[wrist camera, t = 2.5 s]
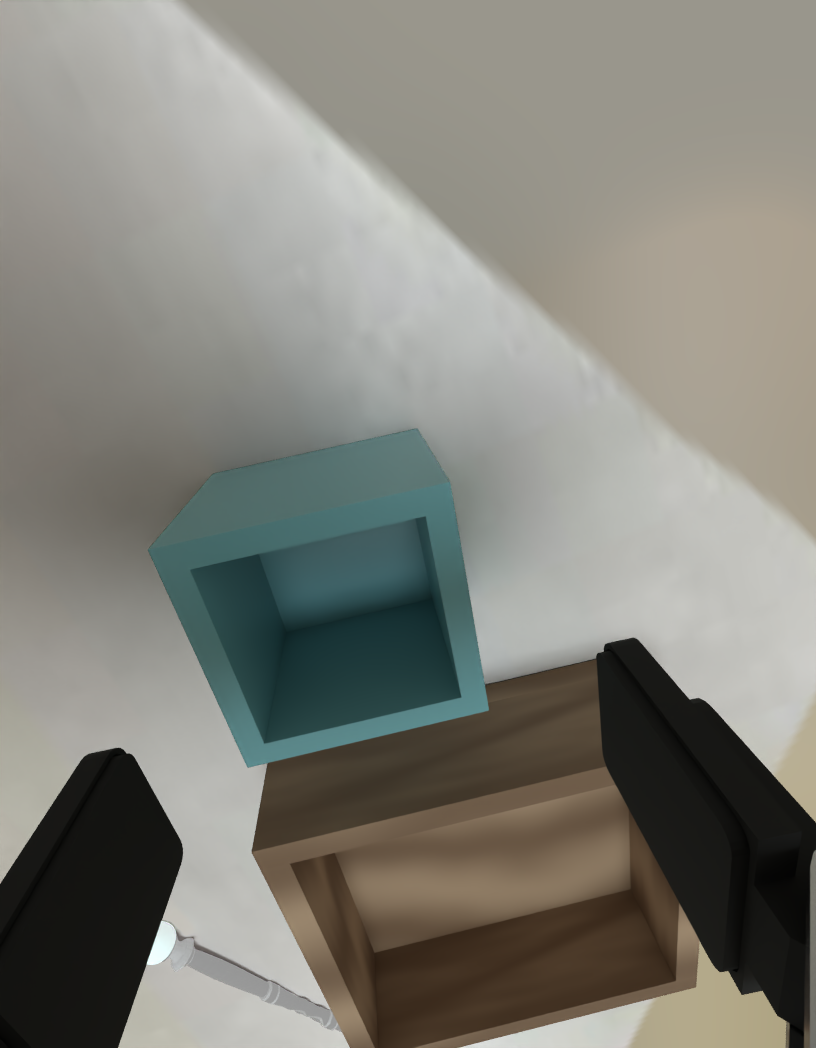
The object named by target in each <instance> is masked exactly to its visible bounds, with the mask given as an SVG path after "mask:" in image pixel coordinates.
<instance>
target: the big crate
mask: <svg viewBox="0 0 816 1048" xmlns="http://www.w3.org/2000/svg"><path fill="white" fill-rule="evenodd" d="M485 689H486V695H487V701H488V707H489V711H485V712H481V713H476V714H472V715H468V716H464V717H460V718H455V719H451V720H447V721H443V722H438V723H434V724H430V725H426V726H422V727H417V728H413V729H409V730H405V731H400V732H396V733H392V734H388V735H383V736H379V737H375V738H371V739H367V740H362V741H358V742H354V743H350V744H345V745H341V746H337V747H333V748H329V749H324V750H320V751H316V752H312V753H307V754H303V755H299V756H295V757H291V758H286V759H282V760H278V761H274V762H269V763H268V764H267V769H266V775H265V781H264V786H263V792H262V797H261V803H260V808H259V814H258V820H257V825H256V831H255V836H254V842H253V847H252V854H253V856H254V858H255V860H256V862H257V864H258V866H259V868H260V870H261V872H262V874H263V876H264V878H265V880H266V882H267V884H268V886H269V888H270V890H271V892H272V894H273V896H274V898H275V900H276V902H277V904H278V906H279V908H280V909H281V911H282V913H283V915H284V917H285V919H286V921H287V923H288V925H289V927H290V929H291V931H292V933H293V935H294V937H295V939H296V941H297V943H298V945H299V947H300V949H301V951H302V953H303V955H304V957H305V959H306V961H307V963H308V965H309V967H310V969H311V971H312V973H313V975H314V977H315V979H316V981H317V983H318V985H319V987H320V989H321V991H322V993H323V995H324V997H325V999H326V1001H327V1003H328V1005H329V1007H330V1009H331V1011H332V1013H333V1015H334V1017H335V1019H336V1021H337V1023H338V1025H339V1027H340V1029H341V1031H342V1033H343V1035H344V1037H345V1039H346V1041H347V1043H348V1045H349V1047H350V1048H459V1047H463V1046H467V1045H471V1044H475V1043H478V1042H482V1041H486V1040H490V1039H494V1038H498V1037H502V1036H506V1035H510V1034H514V1033H518V1032H522V1031H526V1030H530V1029H534V1028H537V1027H541V1026H545V1025H549V1024H553V1023H557V1022H561V1021H565V1020H569V1019H573V1018H577V1017H581V1016H585V1015H589V1014H593V1013H597V1012H600V1011H604V1010H608V1009H612V1008H616V1007H620V1006H624V1005H628V1004H632V1003H636V1002H640V1001H644V1000H648V999H652V998H656V997H659V996H663V995H667V994H671V993H675V992H679V991H683V990H687V989H691V988H695V987H696V980H697V965H698V953H699V939H698V937H697V935H696V933H695V931H694V929H693V927H692V926H691V924H690V922H689V920H688V918H687V916H686V914H685V913H684V911H683V909H682V907H681V905H680V903H679V901H678V900H677V898H676V896H675V894H674V892H673V890H672V888H671V887H670V885H669V883H668V881H667V879H666V877H665V875H664V874H663V872H662V870H661V868H660V866H659V864H658V863H657V861H656V859H655V857H654V855H653V853H652V851H651V850H650V848H649V846H648V844H647V842H646V840H645V838H644V837H643V835H642V833H641V831H640V829H639V827H638V825H637V824H636V822H635V820H634V818H633V816H632V814H631V812H630V811H629V809H628V807H627V805H626V803H625V801H624V799H623V798H622V796H621V794H620V792H619V790H618V788H617V787H616V785H615V783H614V781H613V779H612V777H611V775H610V774H609V771H608V769H607V767H606V764H605V761H604V758H603V753H602V739H601V723H600V708H599V692H598V676H597V661H596V659H595V660H591V661H587V662H583V663H578V664H574V665H570V666H566V667H561V668H557V669H553V670H549V671H544V672H540V673H536V674H532V675H527V676H523V677H519V678H515V679H510V680H506V681H502V682H498V683H494V684H489V685H485Z"/></svg>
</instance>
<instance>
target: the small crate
mask: <svg viewBox="0 0 816 1048" xmlns="http://www.w3.org/2000/svg"><path fill="white" fill-rule="evenodd" d="M148 552H149V554H150V556H151V558H152V560H153V562H154V565H155V567H156V569H157V571H158V573H159V575H160V578H161V580H162V582H163V584H164V586H165V589H166V591H167V593H168V595H169V597H170V599H171V602H172V604H173V606H174V608H175V610H176V613H177V615H178V617H179V619H180V621H181V623H182V626H183V628H184V630H185V632H186V634H187V637H188V639H189V641H190V643H191V645H192V647H193V650H194V652H195V654H196V656H197V658H198V661H199V663H200V665H201V667H202V669H203V671H204V674H205V676H206V678H207V680H208V682H209V685H210V687H211V689H212V691H213V693H214V695H215V698H216V700H217V702H218V704H219V706H220V709H221V711H222V713H223V715H224V717H225V719H226V722H227V724H228V726H229V728H230V730H231V733H232V735H233V737H234V739H235V741H236V743H237V746H238V748H239V750H240V752H241V754H242V756H243V759H244V761H245V763H246V765H247V767H253V766H257V765H261V764H265V763H269V762H274V761H278V760H282V759H286V758H291V757H295V756H299V755H303V754H307V753H312V752H316V751H320V750H324V749H329V748H333V747H337V746H341V745H345V744H350V743H354V742H358V741H362V740H367V739H371V738H375V737H379V736H383V735H388V734H392V733H396V732H400V731H405V730H409V729H413V728H417V727H422V726H426V725H430V724H434V723H438V722H443V721H447V720H451V719H455V718H460V717H464V716H468V715H472V714H476V713H481V712H485V711H489V707H488V701H487V695H486V689H485V683H484V677H483V672H482V666H481V660H480V654H479V648H478V642H477V637H476V631H475V625H474V619H473V613H472V607H471V602H470V596H469V590H468V584H467V578H466V572H465V567H464V561H463V555H462V549H461V543H460V537H459V532H458V526H457V520H456V514H455V508H454V502H453V496H452V491H451V485H450V481H449V479H448V478H447V476H446V475H445V473H444V471H443V470H442V468H441V466H440V465H439V463H438V461H437V460H436V458H435V457H434V455H433V453H432V452H431V450H430V448H429V447H428V445H427V443H426V442H425V440H424V439H423V437H422V435H421V434H420V432H419V430H418V429H412V430H408V431H403V432H399V433H394V434H390V435H385V436H381V437H376V438H372V439H367V440H363V441H358V442H354V443H349V444H345V445H340V446H336V447H331V448H327V449H322V450H318V451H313V452H309V453H304V454H300V455H295V456H291V457H286V458H282V459H277V460H273V461H268V462H263V463H259V464H254V465H250V466H245V467H241V468H236V469H232V470H227V471H223V472H218V473H214V474H212V475H211V477H210V478H209V479H208V480H207V481H206V482H205V484H204V485H203V486H202V487H201V488H200V489H199V491H198V492H197V493H196V494H195V495H194V496H193V498H192V499H191V500H190V501H189V502H188V503H187V505H186V506H185V507H184V508H183V509H182V510H181V512H180V513H179V514H178V515H177V516H176V517H175V519H174V520H173V521H172V522H171V523H170V524H169V526H168V527H167V528H166V529H165V530H164V531H163V533H162V534H161V535H160V536H159V537H158V538H157V540H156V541H155V542H154V543H153V544H152V545H151V547H150V548H149V549H148Z"/></svg>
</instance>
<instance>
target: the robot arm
mask: <svg viewBox="0 0 816 1048" xmlns="http://www.w3.org/2000/svg"><path fill="white" fill-rule="evenodd" d="M596 661H597V676H598V692H599V708H600V723H601V739H602V753H603V758H604V761H605V764H606V767H607V769H608V771H609V774H610V775H611V777H612V779H613V781H614V783H615V785H616V787H617V788H618V790H619V792H620V794H621V796H622V798H623V799H624V801H625V803H626V805H627V807H628V809H629V811H630V812H631V814H632V816H633V818H634V820H635V822H636V824H637V825H638V827H639V829H640V831H641V833H642V835H643V837H644V838H645V840H646V842H647V844H648V846H649V848H650V850H651V851H652V853H653V855H654V857H655V859H656V861H657V863H658V864H659V866H660V868H661V870H662V872H663V874H664V875H665V877H666V879H667V881H668V883H669V885H670V887H671V888H672V890H673V892H674V894H675V896H676V898H677V900H678V901H679V903H680V905H681V907H682V909H683V911H684V913H685V914H686V916H687V918H688V920H689V922H690V924H691V926H692V927H693V929H694V931H695V933H696V935H697V937H698V939H699V940H700V942H701V944H702V946H703V948H704V950H705V951H706V953H707V955H708V957H709V959H710V960H711V962H712V964H713V965H714V966H715V968H716V969H717V970H718V971H719V972H724V971H729V973H730V975H731V977H732V978H733V980H734V982H735V983H736V986H737V987H738V989H739V991H740V992H741V994H742V995H744V994H749V993H753V992H758V991H763V992H764V994H765V996H766V997H767V999H768V1000H769V1002H770V1004H771V1006H772V1007H773V1009H774V1010H775V1012H776V1014H777V1016H779V1017H781V1018H782V1019H784V1020H785V1021H787V1022H786V1023H787V1024H786V1048H816V823H815V821H814V820H813V819H812V818H811V817H810V816H809V815H808V813H806V811H805V810H804V809H803V808H802V807H801V806H800V805H799V803H798V802H797V801H796V800H795V799H794V798H793V797H792V796H791V795H790V793H789V792H788V791H787V790H786V789H785V788H784V787H783V786H782V785H781V784H780V782H778V780H777V779H776V778H775V777H774V776H773V775H772V773H771V772H770V771H769V770H768V769H767V768H766V767H765V766H764V765H763V763H762V762H761V761H760V760H759V759H758V758H757V757H756V756H755V755H754V753H753V752H752V751H751V750H750V749H749V748H748V747H747V746H746V745H745V743H744V742H743V741H742V740H741V739H740V738H739V737H738V736H737V735H736V733H735V732H734V731H733V730H732V729H731V728H730V727H729V726H728V725H727V723H726V722H725V721H724V720H723V719H722V718H721V717H720V716H719V715H718V713H717V712H716V711H715V710H714V709H713V708H712V707H711V706H710V705H709V704H708V703H707V702H706V701H704V700H702V699H700V698H696V699H691V700H689V699H688V697H687V696H686V695H685V694H684V693H683V692H682V690H681V689H680V688H679V687H678V686H677V685H676V683H675V682H674V681H673V680H672V679H671V678H670V676H669V675H668V674H667V673H666V672H665V671H664V669H663V668H662V667H661V666H660V665H659V664H658V662H657V661H656V660H655V659H654V658H653V657H652V655H651V654H650V653H649V652H648V651H647V650H646V648H645V647H644V646H643V645H642V644H641V643H640V642H639V641H638V640H637V639H636V638H630V639H625V640H621V641H616V642H611V643H607V644H605V646H604V652H601V653H598V654H597V656H596ZM182 857H183V847H182V843H181V840H180V838H179V837H178V835H177V833H176V831H175V829H174V828H173V826H172V824H171V822H170V821H169V819H168V817H167V815H166V813H165V812H164V810H163V808H162V806H161V804H160V803H159V801H158V799H157V797H156V795H155V794H154V792H153V790H152V788H151V786H150V785H149V783H148V781H147V779H146V777H145V776H144V774H143V772H142V770H141V768H140V767H139V765H138V763H137V761H136V759H135V758H134V756H133V755H131V754H130V753H129V754H126V752H125V751H124V750H123V749H121V748H114V749H109V750H105V751H100V752H95V753H91V754H88V755H86V756H85V757H84V758H83V759H82V760H81V761H80V763H79V764H78V766H77V767H76V769H75V770H74V772H73V774H72V775H71V777H70V778H69V780H68V781H67V783H66V784H65V786H64V787H63V789H62V790H61V792H60V793H59V795H58V796H57V798H56V799H55V801H54V803H53V804H52V806H51V807H50V809H49V810H48V812H47V813H46V815H45V816H44V818H43V819H42V821H41V822H40V824H39V825H38V827H37V829H36V830H35V832H34V833H33V835H32V836H31V838H30V839H29V841H28V842H27V844H26V845H25V847H24V848H23V850H22V851H21V853H20V854H19V856H18V858H17V859H16V861H15V862H14V864H13V865H12V867H11V868H10V870H9V871H8V873H7V874H6V876H5V877H4V879H3V880H2V882H1V884H0V1048H118V1046H119V1043H120V1040H121V1037H122V1034H123V1031H124V1028H125V1026H126V1023H127V1020H128V1017H129V1014H130V1011H131V1008H132V1005H133V1002H134V999H135V996H136V994H137V991H138V988H139V985H140V982H141V979H142V976H143V973H144V970H145V967H146V964H147V962H148V959H149V956H150V953H151V950H152V947H153V944H154V941H155V938H156V935H157V933H158V930H159V927H160V924H161V921H162V918H163V915H164V912H165V909H166V906H167V903H168V901H169V898H170V895H171V892H172V889H173V886H174V883H175V880H176V877H177V874H178V871H179V869H180V866H181V862H182Z"/></svg>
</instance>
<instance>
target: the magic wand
mask: <svg viewBox="0 0 816 1048" xmlns="http://www.w3.org/2000/svg"><path fill="white" fill-rule="evenodd" d="M167 959H171V966H172V969H173V971H179V970H181V969H182V968H183V967H184V966H189V967H191V968H193V969H195V970H197V971H199V972H201V973H203V974H205V975H207V976H209V977H211V978H213V979H216V980H218V981H220V982H223V983H225V984H228V985H230V986H233V987H235V988H238V989H241V990H243V991H246V992H249V993H251V994H254V995H257V996H259V997H260V999H261V1000H263V1001H265V1002H267V1003H270V1004H274V1005H277V1006H282V1007H285V1008H287V1009H289V1010H295V1011H296V1012H297V1013H299V1014H303V1015H305V1016H307V1017H310V1018H312V1019H313V1020H315V1021H317V1022H319V1023H321V1025H322V1026H323V1027H325V1028H327V1029H330V1030H334V1029H336V1030H338V1031H341V1029H340V1027H339V1025H338V1023H337V1021H336V1019H335V1017H334V1015H333V1013H332V1011H331V1010H327V1009H325V1008H323V1007H320V1006H317V1005H315V1004H314V1003H312V1002H309V1001H307V1000H306V999H304V998H300V997H298V996H297V995H295V994H293V993H291V992H289V991H287V990H285V989H284V988H282V987H281V986H279V985H277V984H275V983H273V982H271V981H268V982H266V981H264V980H262V979H261V978H259V977H257V976H255V975H253V974H251V973H249V972H247V971H245V970H243V969H241V968H239V967H237V966H235V965H233V964H231V963H229V962H227V961H224V960H222V959H220V958H217V957H215V956H213V955H210V954H207V953H205V952H202V951H200V950H197V949H195V947H194V939H193V938H186V939H184V940H183V941H179V940H178V938H177V934H176V931H175V929H174V927H173V926H172V925H171V924H170V923H168V922H164V921H161V924H160V927H159V930H158V933H157V935H156V938H155V941H154V944H153V947H152V950H151V953H150V956H149V959H148V962H147V964H149V965H154V964H158V963H160V962H163V961H165V960H167ZM341 1032H342V1031H341Z"/></svg>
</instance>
